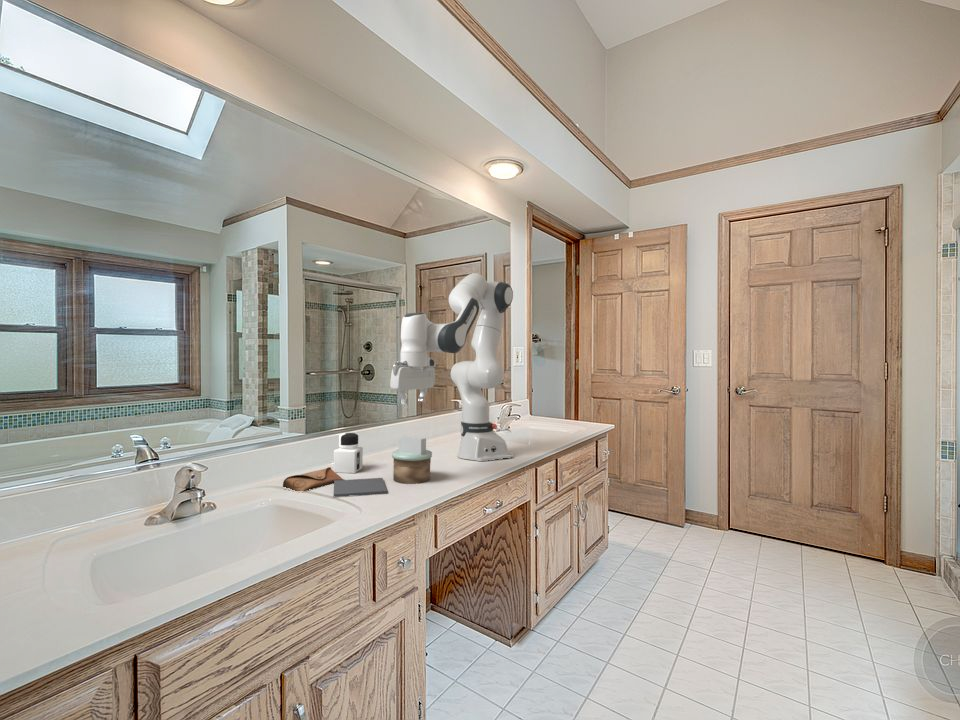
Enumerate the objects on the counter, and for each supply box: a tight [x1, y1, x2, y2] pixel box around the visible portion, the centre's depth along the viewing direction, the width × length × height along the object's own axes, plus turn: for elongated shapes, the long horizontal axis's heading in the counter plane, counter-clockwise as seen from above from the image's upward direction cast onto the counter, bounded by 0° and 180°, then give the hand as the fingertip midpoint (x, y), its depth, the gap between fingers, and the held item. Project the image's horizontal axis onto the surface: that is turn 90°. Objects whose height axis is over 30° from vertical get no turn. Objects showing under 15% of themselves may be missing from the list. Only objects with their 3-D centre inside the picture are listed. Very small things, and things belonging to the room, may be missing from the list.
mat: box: [333, 477, 388, 497], centre depth 140 cm, size 15×15×1 cm
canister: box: [392, 457, 432, 485], centre depth 152 cm, size 12×12×8 cm
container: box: [332, 432, 364, 474], centre depth 161 cm, size 8×8×13 cm
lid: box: [391, 435, 433, 461], centre depth 152 cm, size 13×13×8 cm
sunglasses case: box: [282, 466, 345, 491], centre depth 144 cm, size 18×7×7 cm, turn 149°
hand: (413, 403), depth 152 cm, fingers open, 8 cm apart
